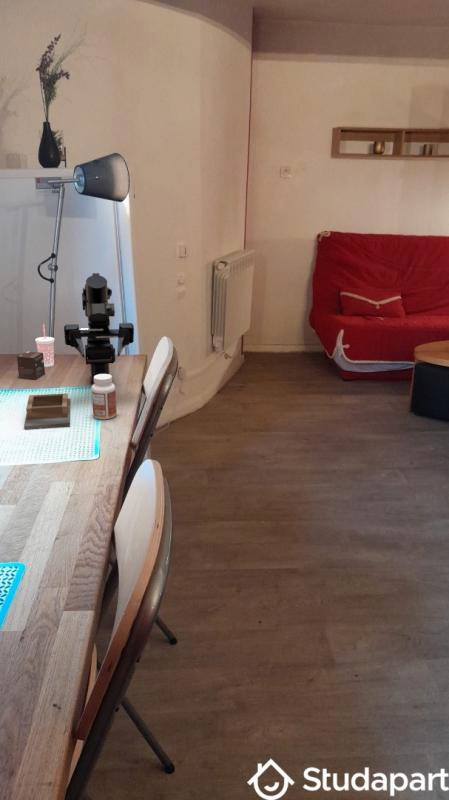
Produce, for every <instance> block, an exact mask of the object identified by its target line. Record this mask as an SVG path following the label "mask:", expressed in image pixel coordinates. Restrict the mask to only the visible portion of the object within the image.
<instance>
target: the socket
mask: <svg viewBox="0 0 449 800" xmlns="http://www.w3.org/2000/svg"><path fill="white" fill-rule="evenodd" d="M68 395H69V393H67V392H66V393H50V394H49V393H46V394H33V395H31V394H29V395H28V400H27V403H26V409H25V410H26V414H25V419H24V425H23V430H24V429H25V430H24V431H26V430H39V428H42V429H55V428H67V427H68V428H70V427H71V398H69V396H68Z"/></svg>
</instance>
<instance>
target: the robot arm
mask: <svg viewBox="0 0 449 800" xmlns="http://www.w3.org/2000/svg"><path fill="white" fill-rule="evenodd" d="M112 295H113V291H112V289H111V288H110V287H108V280H107V278H105V277H104V276H102V275H100V273H98V272H97V273H94V272H93V273H92V274H91V275H90V276H89V277H87V278H86V279H85V284H84V287H82V292H81V302H82V311H84V316H85V317H86V318H87V324H88V328H80V325H79V324H75V323H74V324H69V323H67V324H65V325H64V326H63V333H64V342H65V343H64V344H65V345H66V346H70V347H71V348H74V349H76V350H77V352H78V353H79V354H80V355H81V357H82V358H85V365H86V366H87V365H88V366H89V365H90V367H89V369H90V376H89V384H90V385H93V384H95V383H94V376H95V375H98V374H109V375H110V364H114V363H116V348H115V347H114V345H113V343H111V338H117V339H118V340H117V357H120V355H121V354H122V352H123V349H124V348H125V346H129V345H130V344H133V343H134V340H135V339H134V338H135V337H134V336H135V335H134V333H135V326H134V324H133V323H132V322H120V323H118V328H117V329H116V328H114V329H111V328H110V326H111V325H110V324H111V323H110V321H111V320H110V318H111V317H115V316H116V315H115V314H116V313H115V311H116V310H115V303H113V302H111V303H109V301H108V300H110V299H111V296H112ZM82 338H86V344H85V345H84V344H83V341H82V340H83V339H82Z"/></svg>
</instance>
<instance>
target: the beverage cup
mask: <svg viewBox="0 0 449 800" xmlns="http://www.w3.org/2000/svg"><path fill="white" fill-rule="evenodd" d="M45 327H46V326H45V323H43V324H42V330H43V336H39V337H37V338H35V343H36V348H37V352H40V353H43V358H44V368H47V367H53V366H54V365H55V347H54V346H55V345H54V343H55V338H54V336H53V337H52V336H46V329H45Z"/></svg>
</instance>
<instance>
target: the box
mask: <svg viewBox="0 0 449 800" xmlns="http://www.w3.org/2000/svg"><path fill="white" fill-rule="evenodd" d="M16 361H17V371H18V378H19V379H24V380H25V379H26V380H35V381H36V380H38V379H40V378H41V377H43V376H44V375H46V369H45V368H46V367H44V358H43V353H40V352H38V351H25V352H23V353H20V354H18V355H16Z"/></svg>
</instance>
